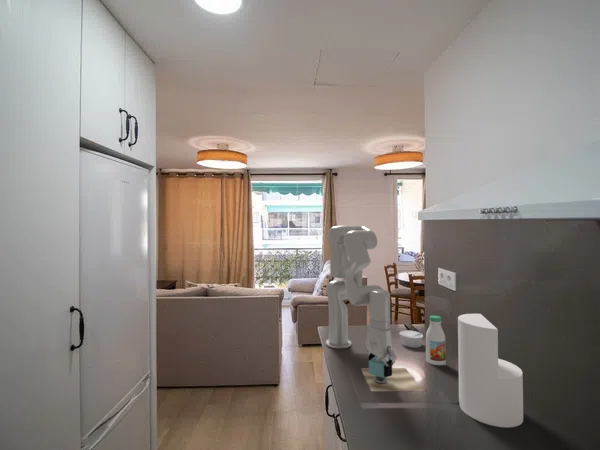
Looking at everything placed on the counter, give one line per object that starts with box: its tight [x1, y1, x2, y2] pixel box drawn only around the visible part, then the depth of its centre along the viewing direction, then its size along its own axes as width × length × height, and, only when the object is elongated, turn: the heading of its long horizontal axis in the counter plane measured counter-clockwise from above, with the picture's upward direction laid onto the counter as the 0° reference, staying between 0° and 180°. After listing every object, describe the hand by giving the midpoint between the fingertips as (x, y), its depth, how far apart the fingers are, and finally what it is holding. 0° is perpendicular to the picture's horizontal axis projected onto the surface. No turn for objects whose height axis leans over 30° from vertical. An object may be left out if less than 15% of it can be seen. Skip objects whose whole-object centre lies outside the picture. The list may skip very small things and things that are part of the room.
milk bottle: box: [425, 315, 447, 366], centre depth 133 cm, size 8×8×20 cm
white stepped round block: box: [457, 313, 524, 428], centre depth 100 cm, size 17×17×28 cm
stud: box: [374, 376, 387, 384], centre depth 116 cm, size 4×4×6 cm
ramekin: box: [399, 329, 424, 349], centre depth 156 cm, size 11×11×5 cm
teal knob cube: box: [368, 356, 389, 378], centre depth 116 cm, size 6×6×5 cm
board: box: [360, 367, 424, 392], centre depth 118 cm, size 18×18×1 cm
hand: (379, 370), depth 116 cm, fingers closed on teal knob cube, 8 cm apart
